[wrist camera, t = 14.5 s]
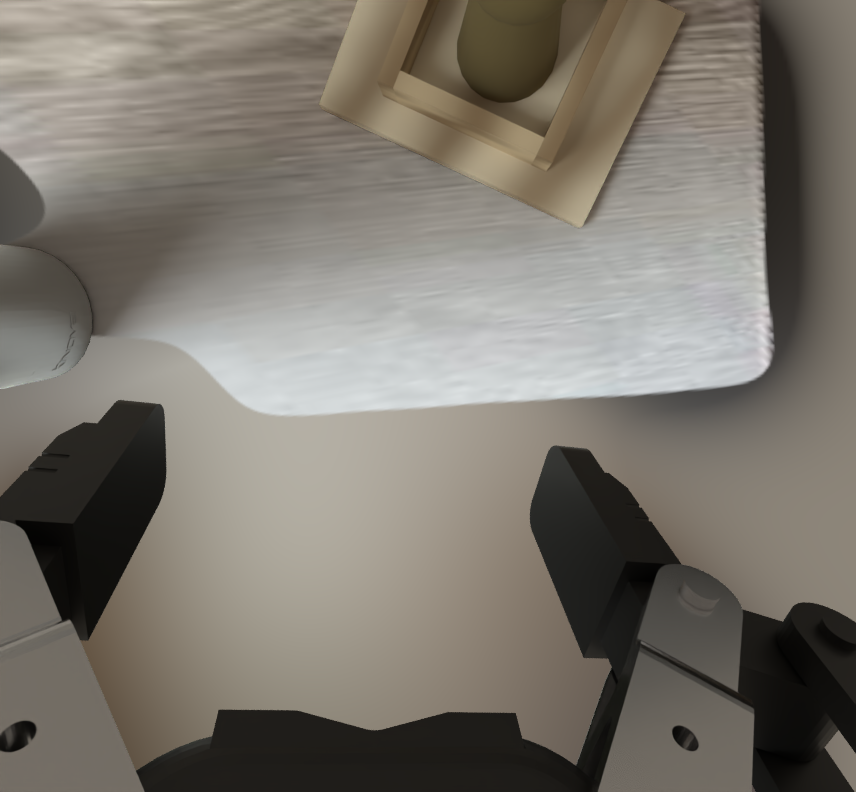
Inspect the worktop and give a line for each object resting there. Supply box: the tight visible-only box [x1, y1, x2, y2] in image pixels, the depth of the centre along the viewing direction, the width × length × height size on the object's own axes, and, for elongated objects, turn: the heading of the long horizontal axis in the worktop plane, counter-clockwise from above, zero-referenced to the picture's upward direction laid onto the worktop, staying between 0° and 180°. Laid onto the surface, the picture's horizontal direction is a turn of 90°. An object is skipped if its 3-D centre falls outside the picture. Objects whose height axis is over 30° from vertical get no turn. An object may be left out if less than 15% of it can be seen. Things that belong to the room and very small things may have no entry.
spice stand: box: [319, 0, 686, 228], centre depth 32 cm, size 18×13×4 cm
